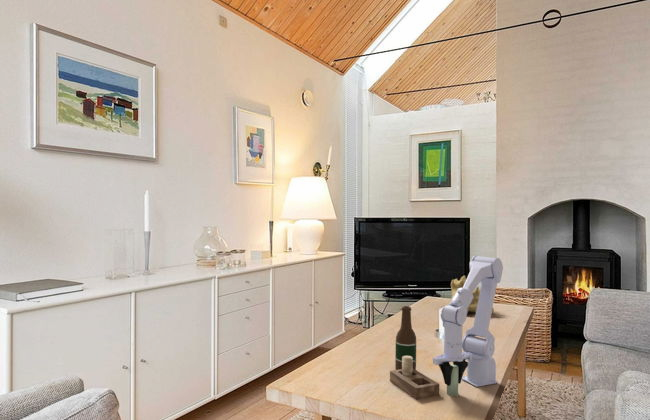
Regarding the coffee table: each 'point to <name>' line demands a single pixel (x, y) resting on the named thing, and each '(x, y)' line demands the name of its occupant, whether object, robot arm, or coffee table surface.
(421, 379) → the socket board
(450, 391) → the green peg
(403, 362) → the birch peg
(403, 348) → the beer bottle
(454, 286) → the decorative coral
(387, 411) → the coffee table surface
